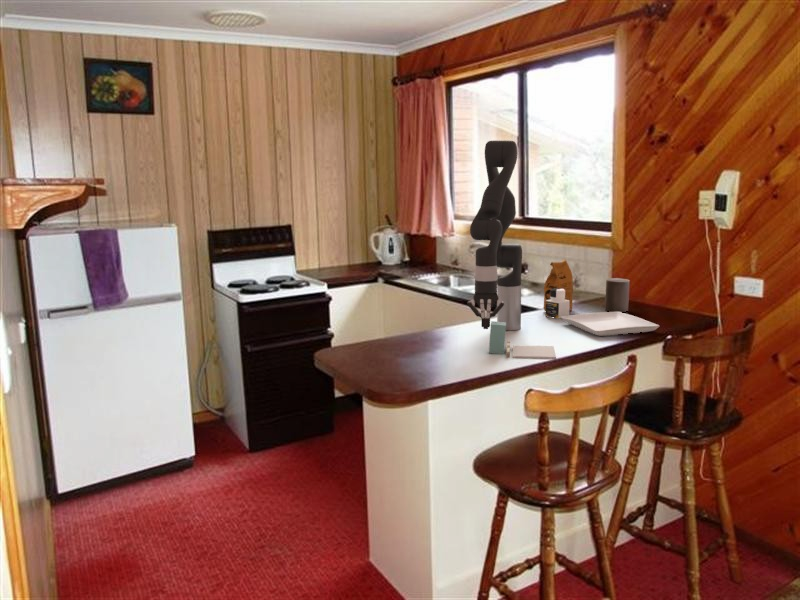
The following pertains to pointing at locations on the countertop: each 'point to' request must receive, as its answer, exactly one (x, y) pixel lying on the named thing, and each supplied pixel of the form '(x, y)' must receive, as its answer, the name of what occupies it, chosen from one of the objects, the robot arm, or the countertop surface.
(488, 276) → the robot arm
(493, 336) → the teal block
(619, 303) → the pillar candle
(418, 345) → the countertop surface
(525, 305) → the countertop surface
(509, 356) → the rail
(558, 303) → the medicine bottle
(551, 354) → the mat
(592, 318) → the square plate
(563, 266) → the coffee package
